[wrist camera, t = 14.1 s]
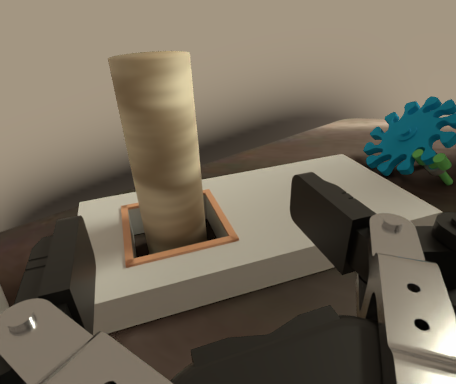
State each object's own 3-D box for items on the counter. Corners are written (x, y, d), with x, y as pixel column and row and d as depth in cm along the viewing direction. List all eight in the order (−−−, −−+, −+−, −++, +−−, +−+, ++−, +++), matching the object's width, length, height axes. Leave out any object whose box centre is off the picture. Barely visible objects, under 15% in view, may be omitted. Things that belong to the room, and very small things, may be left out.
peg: (200, 227, 27) (181, 49, 20) (214, 261, 23) (198, 56, 16) (146, 239, 26) (107, 54, 19) (153, 276, 22) (107, 63, 15)
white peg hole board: (339, 175, 35) (342, 152, 33) (433, 238, 25) (443, 209, 23) (87, 226, 28) (79, 200, 27) (77, 342, 18) (63, 309, 17)
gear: (349, 138, 40) (426, 80, 35) (375, 165, 42) (449, 114, 38) (383, 192, 31) (491, 123, 27) (413, 222, 33) (516, 164, 29)
